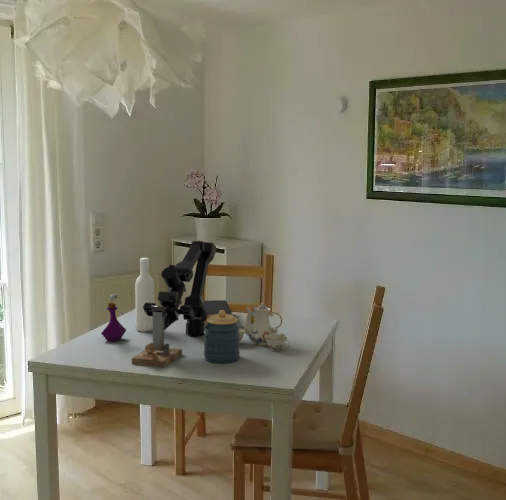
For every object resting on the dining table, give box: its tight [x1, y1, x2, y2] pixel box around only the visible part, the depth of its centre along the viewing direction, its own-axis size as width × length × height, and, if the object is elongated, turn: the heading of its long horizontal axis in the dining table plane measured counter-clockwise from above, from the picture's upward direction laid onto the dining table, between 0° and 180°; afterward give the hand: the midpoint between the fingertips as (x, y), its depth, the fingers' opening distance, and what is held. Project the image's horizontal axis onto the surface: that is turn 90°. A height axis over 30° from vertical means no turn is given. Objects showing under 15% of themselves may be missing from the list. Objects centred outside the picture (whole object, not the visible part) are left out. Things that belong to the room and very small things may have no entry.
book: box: [203, 299, 233, 325], centre depth 292 cm, size 17×25×7 cm
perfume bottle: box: [100, 293, 127, 342], centre depth 258 cm, size 8×8×18 cm
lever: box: [151, 305, 166, 351], centre depth 235 cm, size 2×5×16 cm, turn 73°
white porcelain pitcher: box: [240, 305, 257, 330], centre depth 276 cm, size 8×8×10 cm
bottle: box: [134, 257, 155, 333], centre depth 273 cm, size 8×8×30 cm
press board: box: [131, 341, 183, 368], centre depth 235 cm, size 16×12×7 cm
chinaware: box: [239, 301, 291, 352], centre depth 255 cm, size 28×17×17 cm, turn 69°
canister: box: [203, 310, 241, 364], centre depth 236 cm, size 13×13×18 cm
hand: (161, 330), depth 238 cm, fingers closed
